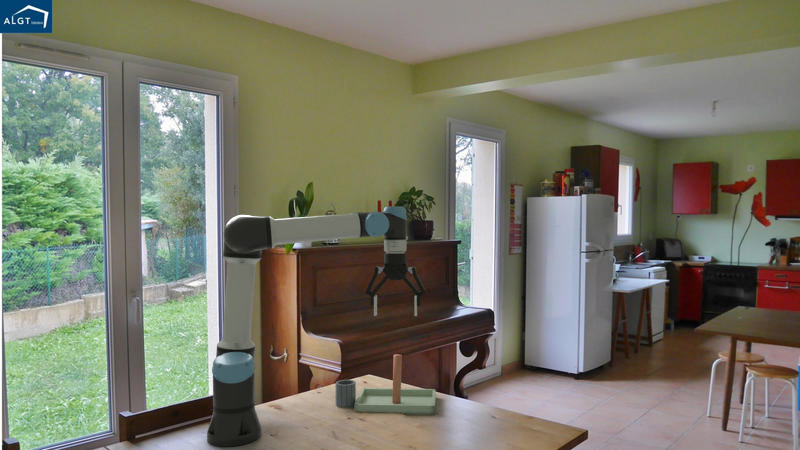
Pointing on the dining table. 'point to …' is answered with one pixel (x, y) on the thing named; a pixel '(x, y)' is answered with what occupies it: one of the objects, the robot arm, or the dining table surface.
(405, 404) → the tray
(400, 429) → the dining table surface
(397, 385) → the pin
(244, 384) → the robot arm
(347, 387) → the cup
